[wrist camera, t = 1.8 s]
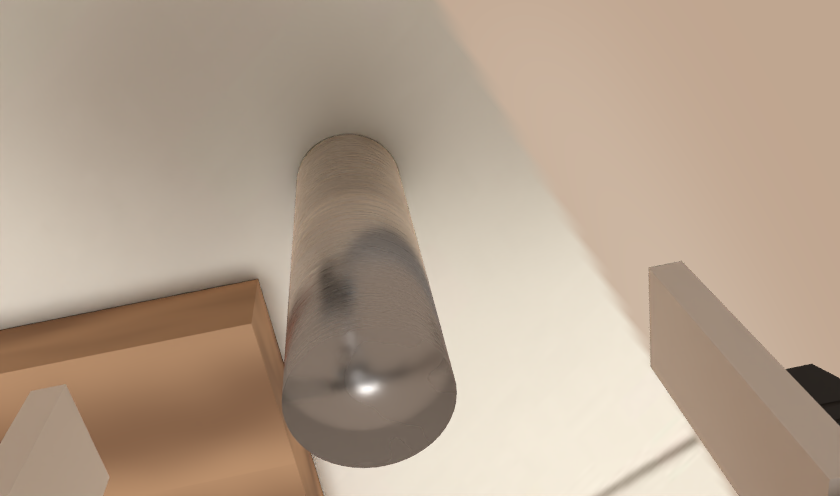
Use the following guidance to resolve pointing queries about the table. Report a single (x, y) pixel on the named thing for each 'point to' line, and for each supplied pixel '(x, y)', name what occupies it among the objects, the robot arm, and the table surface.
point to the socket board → (170, 393)
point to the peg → (361, 315)
